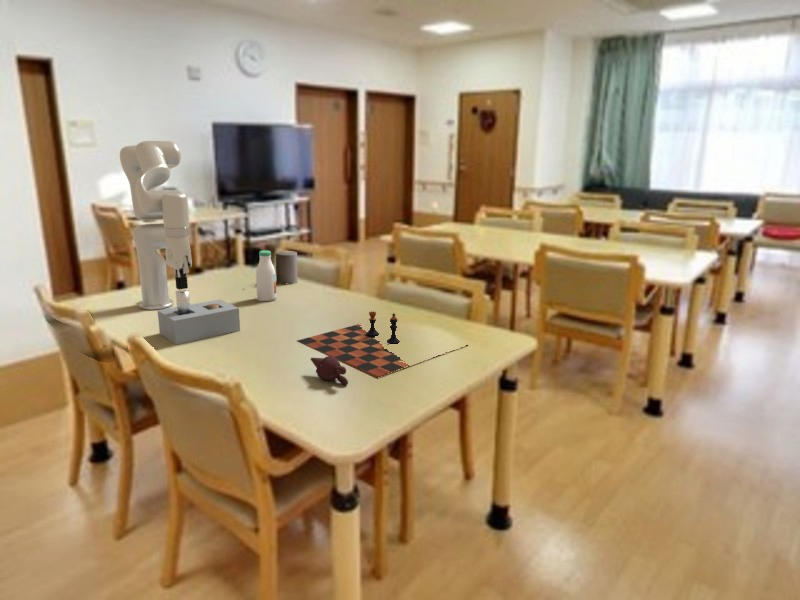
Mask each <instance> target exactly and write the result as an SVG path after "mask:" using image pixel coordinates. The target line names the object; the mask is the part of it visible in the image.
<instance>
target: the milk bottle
mask: <svg viewBox="0 0 800 600" xmlns="http://www.w3.org/2000/svg"><path fill="white" fill-rule="evenodd" d="M258 255H259V260H258V262H259V263H258V264H257V268H256V270H255V274H256V275H255V276H256V278H255V280H256V281H255V282H256V298H257V300H258V301H260V302H271V301H274V300H276V299H277V282H276V267H275V266H274V265H273V262H272V258H271V257H272V252H271V251H270V250H266V249H265V250H260V251H259V252H258Z"/></svg>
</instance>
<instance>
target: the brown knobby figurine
mask: <svg viewBox="0 0 800 600" xmlns="http://www.w3.org/2000/svg"><path fill="white" fill-rule="evenodd" d="M310 361H311V362H312V363H313V365H314V367H315V368H316V370H315V373H316V374H317V377H319V378H320V379H321V380H326V381H335V380H337V381H338V382H339V383H340V384H341V385H343V384H344V385H343V386H347V385H348V384H349V380H348V379H347V378H346V377H345V376H343V375H346V373H347V368H346V367H345V366H343V365H341V363H340V361H339V360H337V359H336V358H335V357H333V356H328V355H327V356H325V357H311V358H310Z"/></svg>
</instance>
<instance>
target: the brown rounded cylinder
mask: <svg viewBox="0 0 800 600" xmlns="http://www.w3.org/2000/svg"><path fill="white" fill-rule="evenodd" d="M217 308H219V304H209V305H207V309H208V310H211V309H217Z"/></svg>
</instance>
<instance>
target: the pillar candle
mask: <svg viewBox="0 0 800 600" xmlns="http://www.w3.org/2000/svg"><path fill="white" fill-rule="evenodd" d="M275 275H276V281H277V282H276V284H279V283H281V285H287V284H286V283H294V282H296V283H298V252H297V251H293V250H279V251H276V252H275ZM294 284H295V283H294Z"/></svg>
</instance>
